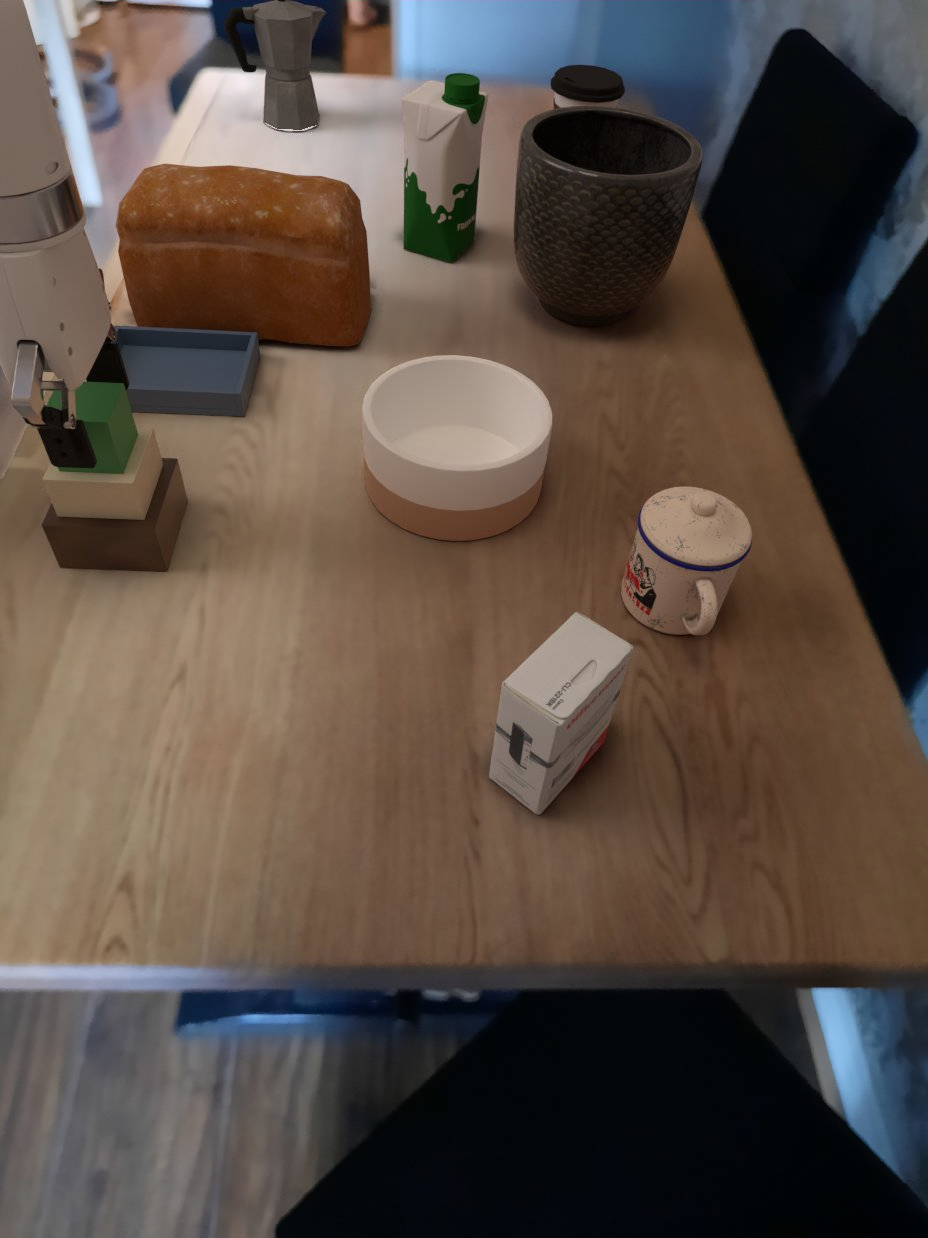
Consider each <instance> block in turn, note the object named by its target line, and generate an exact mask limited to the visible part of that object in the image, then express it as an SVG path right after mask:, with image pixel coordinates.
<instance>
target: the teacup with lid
mask: <svg viewBox="0 0 928 1238" xmlns="http://www.w3.org/2000/svg"><path fill="white" fill-rule="evenodd" d="M634 536H635V537H634V539H633V543H632V545H631V549H630V553H629V556H628V559H627V562H626V567H625V570H624V573H623V576H622V580H621V583H620V595H621V599H622V602H623V604H624V606H625V608H626V610H628V612H629V613H630V614H631V615H632V616H633V618H635V619H636V620H637V621H638V622H640V623H641V624H643V625H644V626H646V627H648V628H649V629H651V630H653V631H656V632H660V633H663V634H666V635H667V634H668V635H678V636H681V635H683V636H684V635H693V636H704V635H705V636H706V635H707V634H709V632H711V630H712V629H713V627H714V625H715V623H716V621H717V617H718V614H719V612H720V610H721V608H722V606H723V604H724V601H725V599H726V597H727V594H728V592H729V590H730V588H731V586H732V584H733V581H734V579H735V576H736V574H737V572H738V570H739V568H740V566H741V563H742V562H743V560H744V559H746V557H747V556H748V554H749V553H750V551H751V548H752V545H753V531H752V526H751V524H750V521H749V519H748V517H747V516H746V513H744V512H743V510H742V509H741V508H740V507H739V506H737V504H736V503H734V502H733V501H732V500H731V499H729V498H727V497H725V496H723V495H722V494H720V493H717V492H715V491H712V490H710V489H706V488H702V487H696V486H674V487H669V488H666V489H663V490H660V491H658V492H656V493H655V494H654V495H652V496H650V497H649V498H648V499H647V500H646V501H645V503H643V505H642V506H641V508H640V510H639V513H638V515H637V530H636V532H635V535H634Z"/></svg>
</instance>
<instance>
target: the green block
mask: <svg viewBox="0 0 928 1238" xmlns="http://www.w3.org/2000/svg"><path fill="white" fill-rule="evenodd" d="M58 381H62V379H58ZM75 398H76V419H77V420H83V422H84V425H85V428H86V431H87V434H88V436H89V439H90V442H91V445H92V448H93V450H94V453H95V456H96V459H97V463H96V465H95V467H94V468H67V467H58V470H59V471H68V472H92V473H116V474H123V473H124V470H125V468H126V465H127V463H128V460H129V457H130V455H131V452H132V450H133V447H134V444H135V442H136V439H137V437H138V432H137V428H136V427H137V425H136V422H135V418H134V414H133V412H132V411H131V407H130V404H129V400H128V397H127V393H126V390H125V386H124V384H123V383H104V382H87V381H84V383H83V384H82V385H81V386H80V387H79V388H77V389H76V390H75ZM45 405H46V406H48V407H54V408H56V409H59V410H62V409H61V391H52V393H51V395H50V396H49V399H48V401H47V403H46V404H45Z"/></svg>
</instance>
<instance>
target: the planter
mask: <svg viewBox="0 0 928 1238" xmlns="http://www.w3.org/2000/svg"><path fill="white" fill-rule="evenodd" d="M518 141H519V142H518V151H517V153H518V155H517V165H516V174H515V175H516V176H515V190H514V191H515V193H514V211H513V212H514V213H513V247H514V255H515V260H516V265H517V267H518V271H519V273H520V275H521V277H522V279H523V281H524V283H525V284H526V285H527V287H528V288H529V289H530V291H531V293H533V294H534V295H535V296H536V298H537V299H538V301H539V303H540V305H541V306H542V308H543V309H544V311H545V312H546V313H547V314H549V315H550V316H551V317H553V318H555V319H556V320H559V321H561V322H563V323H567V324H570V325H574V326H579V327H601V326H608V325H610V324H613V323H615V322H617V321H619V320H620V319H622V318H623V317H624V316H625V314H627V312H629V311H631V310H632V309H634V308H636V307H638V306H639V305H641V304H642V303H643V302H645V301H646V300H648V298H650V297H651V296H652V295H653V294H654V293H655V292H656V291H657V289H658V288H659V287H660V285H661V284H662V282H663V280H664V279H665V277H666V276H667V274H668V271H669V269H670V267H671V266H672V262H673V260H674V258H675V254H676V252H677V249H678V246H679V242H680V240H681V236H682V233H683V230H684V228H685V224H686V221H687V217H688V214H689V212H690V208H691V204H692V201H693V197H694V194H695V190H696V187H697V183H698V179H699V175H700V172H701V170H702V169H701V168H702V165H703V164H702V163H703V149H702V147H701V144H700V142H699V141H698V140H697V138H696V137H694V135H693V134H691V133H690V132H689V131H688V130H686V129H685V128H683V127H682V126H680V125H678V124H676V123H674V122H672V121H669V120H667V119H665V118H662V117H659V116H657V115H653V114H651V113H647V112H642V111H639V110H634V109H630V108H623V107H617V106H616V107H607V106H571V107H563V108H558V109H554V108H553V109H550V110H545V111H543V112H540V113H539V114H537V115H534V116H533V117H532V118H530V119H529V120H527V122H526V123H524V125H523V127H522V130H521V132H520V135H519V139H518Z"/></svg>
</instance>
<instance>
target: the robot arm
mask: <svg viewBox="0 0 928 1238" xmlns="http://www.w3.org/2000/svg"><path fill="white" fill-rule="evenodd" d="M86 224H87V217H86V213H85V209H84V206H83V202H82V198H81V195H80V191H79V187H78V184H77V182H76V178H75V175H74V171H73V167H72V164H71V161H70V157H69V154H68V150H67V147H66V143H65V140H64V137H63V133H62V129H61V126H60V122H59V119H58V115H57V112H56V109H55V105H54V101H53V99H52V95H51V91H50V87H49V84H48V81H47V78H46V74H45V71H44V66H43V62H42V60H41V57H40V53H39V50H38V46H37V42H36V38H35V35H34V32H33V28H32V25H31V21H30V18H29V14H28V11H27V8H26V5H25V2H24V0H0V368H1V370H2V372H3V374H4V377H5V380H6V382H7V383H8V385H9V386H10V387H11V397H10V400H11V406H12V407H13V408H14V409H15V411H17V413H18V414H20V416H21V417H22V419H23V421H24V422H25V424H27V425H30V426H31V427H32V428H33V429H37V432H38V435H39V438H40V440H41V443H42V444H43V446H44V449H45V452H46V454H47V457H48V459H49V461H50V462H51V464H52V465H53V466H55V467H67V468H94V467H95V465H96V463H97V459H96V456H95V453H94V450H93V448H92V445H91V442H90V439H89V436H88V434H87V431H86V428H85V425H84V422H83V420H77V419H76V398H75V390H76V389H77V388H79V387H80V386H81V385H82V384H83V383H84V382H104V383H123V384H124V386H125V390H127V389H128V387H129V385H130V384H129V380H128V377H127V373H126V370H125V366H124V363H123V359H122V356H121V353H120V349H119V346H118V344H111V342H116V339H117V332H116V329H115V327H114V326H115V325H114V324H112V315H111V310H112V306H111V302H110V301H109V299H108V296H107V291H106V285H105V277H104V276H105V275H104V271H103V270H102V268H99V266H98V263H97V260H96V256H95V255H94V252H93V248H92V246H91V242H90V241H89V237H88V235H87V231H86V229H85V226H86ZM44 373H53V374H54V375H55V376H56V378H57V379H58V380H43V375H44ZM59 380H62V381H59ZM53 391H61V409H62V410H59V409H56V408H54V407H48V406H46V405H47V404H45V398H44V395H45V394H44V392H53ZM50 462H49V463H50Z"/></svg>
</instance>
